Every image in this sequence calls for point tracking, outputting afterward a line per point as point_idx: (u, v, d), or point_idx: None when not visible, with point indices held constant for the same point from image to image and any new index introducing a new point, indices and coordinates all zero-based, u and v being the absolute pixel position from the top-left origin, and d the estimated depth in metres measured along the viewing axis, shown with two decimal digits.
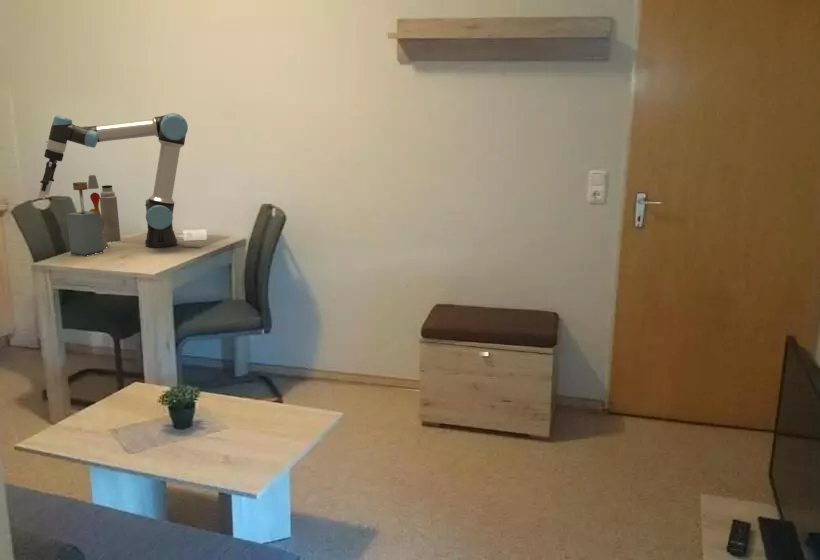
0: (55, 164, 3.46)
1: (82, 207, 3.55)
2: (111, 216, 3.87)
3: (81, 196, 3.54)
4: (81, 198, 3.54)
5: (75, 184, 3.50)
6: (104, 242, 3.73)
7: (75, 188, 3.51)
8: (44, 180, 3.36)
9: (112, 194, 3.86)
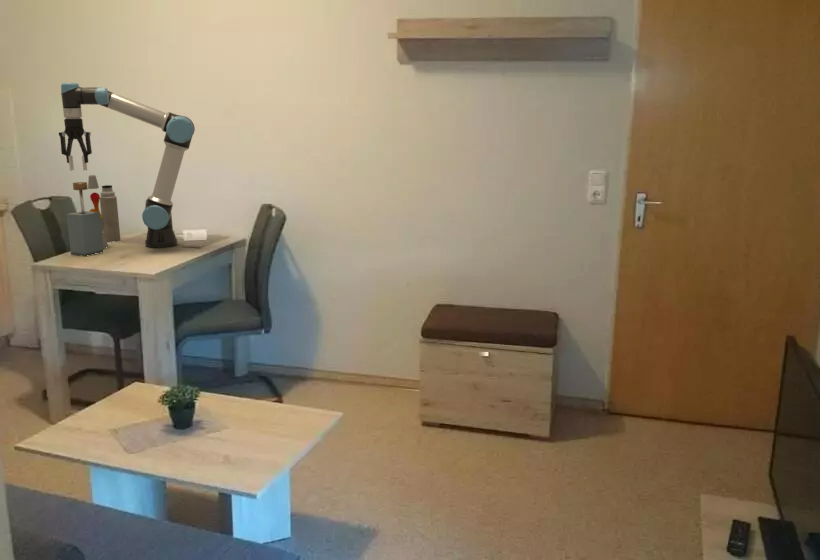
0: None
1: (82, 207, 3.55)
2: (111, 216, 3.87)
3: (81, 196, 3.54)
4: (81, 198, 3.54)
5: (75, 184, 3.50)
6: (104, 242, 3.73)
7: (75, 188, 3.51)
8: (90, 152, 3.50)
9: (112, 194, 3.86)
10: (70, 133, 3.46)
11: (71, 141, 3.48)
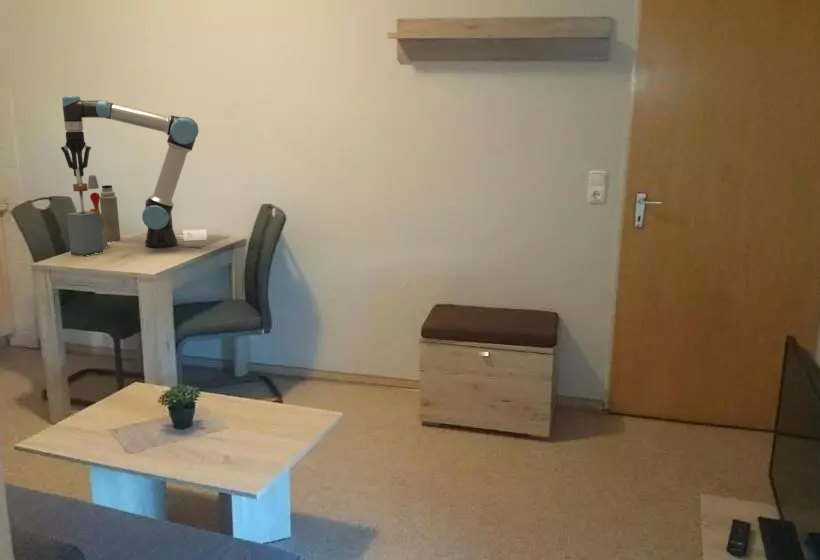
0: None
1: (82, 208, 3.55)
2: (111, 216, 3.87)
3: (81, 197, 3.54)
4: (81, 199, 3.54)
5: (75, 185, 3.50)
6: (104, 242, 3.73)
7: (75, 189, 3.51)
8: (85, 166, 3.51)
9: (112, 194, 3.86)
10: (71, 146, 3.47)
11: (75, 154, 3.50)
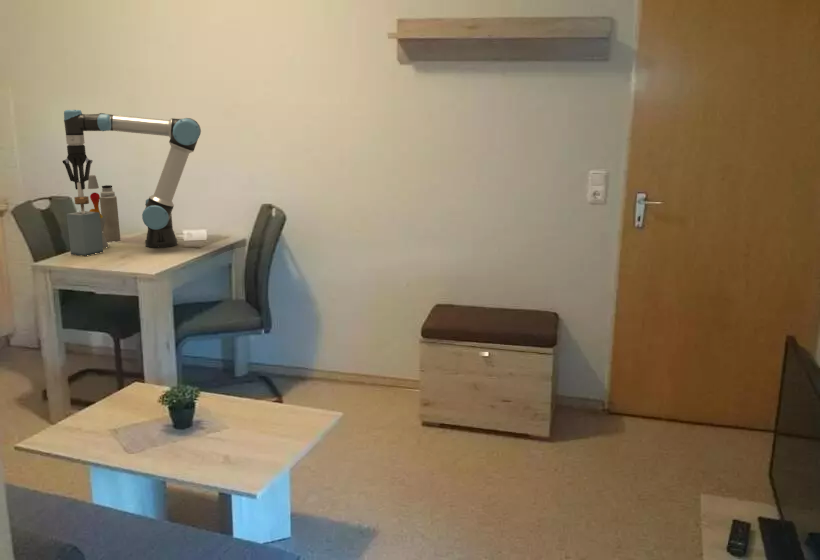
0: None
1: None
2: (111, 216, 3.87)
3: (82, 210, 3.55)
4: (82, 212, 3.56)
5: (77, 198, 3.52)
6: (104, 242, 3.73)
7: (77, 202, 3.52)
8: (87, 179, 3.52)
9: (112, 194, 3.86)
10: (73, 159, 3.49)
11: (76, 167, 3.51)
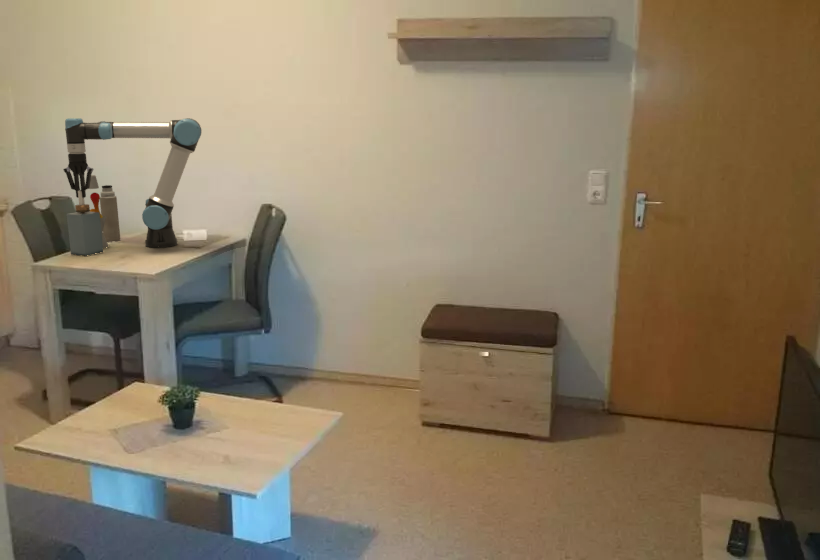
0: None
1: None
2: (111, 216, 3.87)
3: None
4: None
5: (77, 206, 3.53)
6: (104, 242, 3.73)
7: (77, 210, 3.53)
8: (88, 187, 3.53)
9: (112, 194, 3.86)
10: (74, 168, 3.49)
11: (77, 175, 3.52)
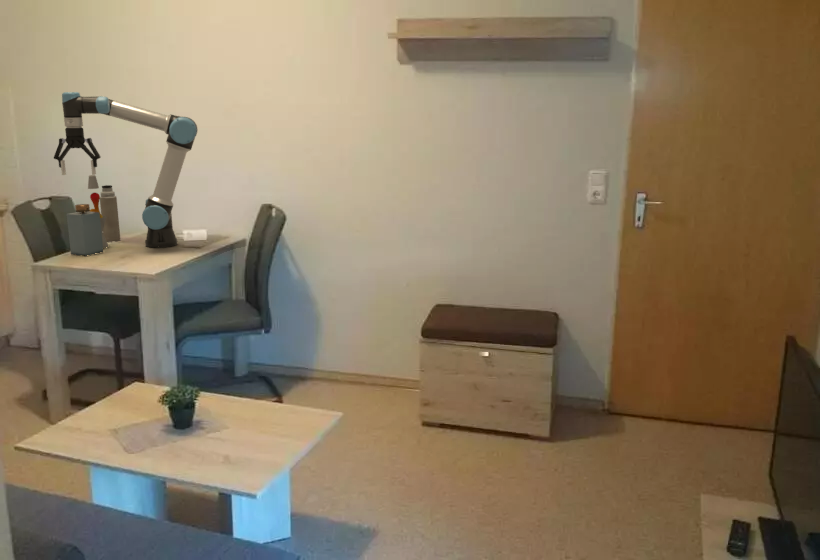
0: None
1: None
2: (111, 216, 3.87)
3: None
4: None
5: (77, 206, 3.53)
6: (104, 242, 3.73)
7: (77, 210, 3.53)
8: (98, 156, 3.50)
9: (112, 194, 3.86)
10: (71, 142, 3.47)
11: (68, 149, 3.49)
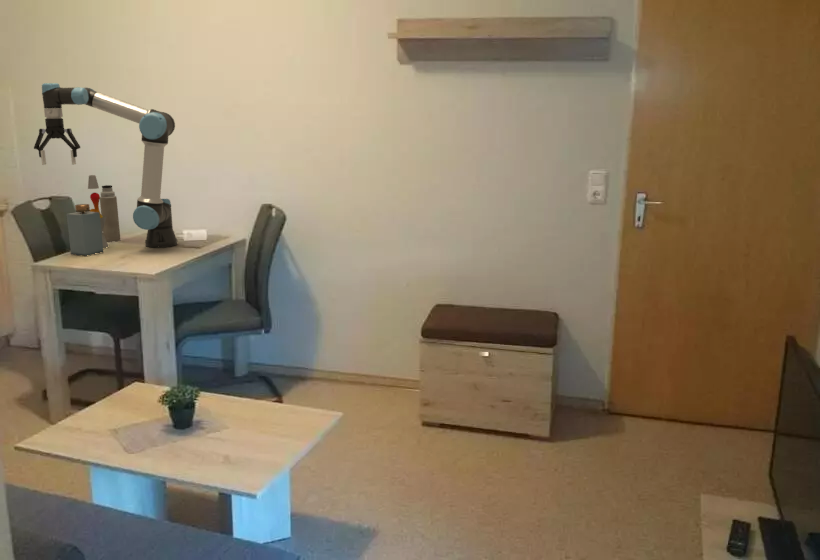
0: None
1: None
2: (111, 216, 3.87)
3: None
4: None
5: (77, 206, 3.53)
6: (104, 242, 3.73)
7: (77, 210, 3.53)
8: (78, 146, 3.56)
9: (112, 194, 3.86)
10: (51, 132, 3.53)
11: (48, 139, 3.55)
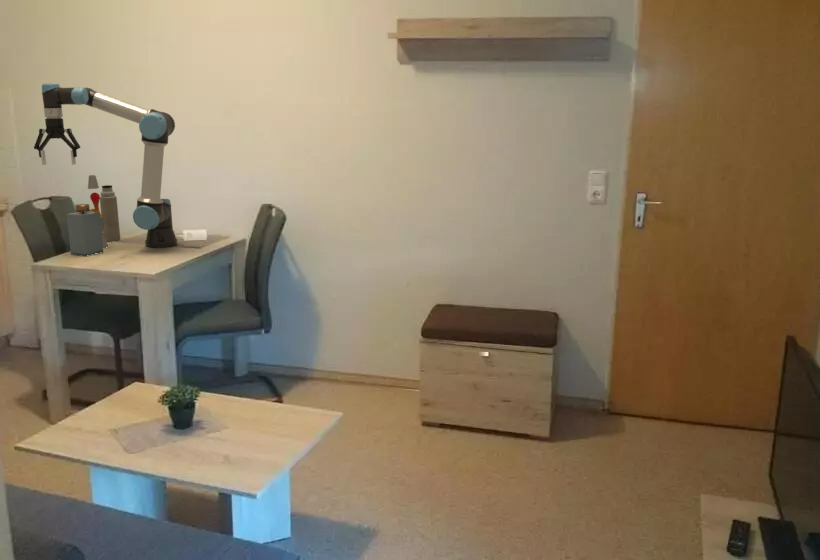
0: None
1: None
2: (111, 216, 3.87)
3: None
4: None
5: (77, 206, 3.53)
6: (104, 242, 3.73)
7: (77, 210, 3.53)
8: (78, 146, 3.56)
9: (112, 194, 3.86)
10: (51, 132, 3.53)
11: (48, 139, 3.55)
